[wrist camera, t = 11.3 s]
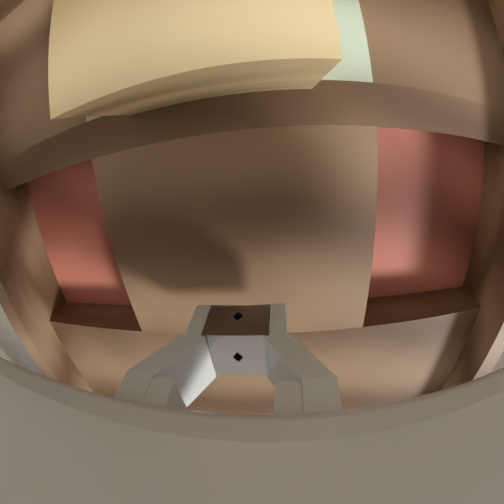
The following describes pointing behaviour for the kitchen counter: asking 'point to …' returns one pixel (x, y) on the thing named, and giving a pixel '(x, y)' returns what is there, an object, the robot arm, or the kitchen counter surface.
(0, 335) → the kitchen counter surface
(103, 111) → the maple block
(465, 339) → the box
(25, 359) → the kitchen counter surface
